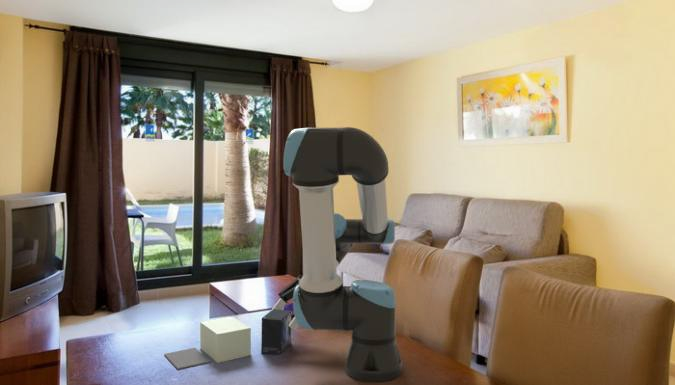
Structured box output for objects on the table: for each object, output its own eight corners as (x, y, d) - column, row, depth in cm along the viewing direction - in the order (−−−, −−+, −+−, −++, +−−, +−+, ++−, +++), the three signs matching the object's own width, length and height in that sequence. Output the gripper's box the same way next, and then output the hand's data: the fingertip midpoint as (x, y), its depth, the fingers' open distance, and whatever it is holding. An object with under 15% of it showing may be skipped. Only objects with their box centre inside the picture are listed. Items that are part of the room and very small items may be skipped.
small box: (281, 355, 141) (281, 319, 140) (260, 353, 142) (260, 318, 142) (292, 343, 151) (292, 309, 151) (272, 341, 152) (272, 308, 152)
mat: (210, 362, 135) (210, 360, 135) (177, 369, 130) (177, 368, 130) (195, 348, 146) (194, 347, 146) (164, 355, 141) (164, 353, 141)
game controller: (276, 303, 185) (302, 297, 186) (280, 325, 183) (306, 319, 183) (274, 302, 175) (301, 295, 176) (278, 325, 173) (305, 318, 174)
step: (250, 355, 141) (250, 327, 140) (217, 362, 135) (217, 334, 135) (231, 342, 152) (231, 316, 152) (200, 348, 146) (200, 322, 146)
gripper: (351, 282, 147) (309, 341, 139) (309, 269, 168) (270, 320, 160) (336, 266, 144) (292, 326, 136) (295, 255, 165) (255, 306, 157)
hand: (280, 322), depth 148 cm, fingers open, 13 cm apart
